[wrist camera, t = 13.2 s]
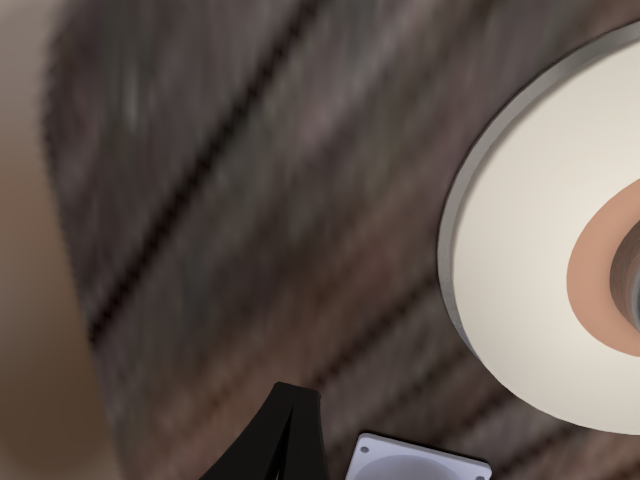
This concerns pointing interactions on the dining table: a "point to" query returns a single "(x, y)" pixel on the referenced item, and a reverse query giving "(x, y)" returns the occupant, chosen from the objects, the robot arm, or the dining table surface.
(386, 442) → the robot arm
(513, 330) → the disc
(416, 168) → the dining table surface
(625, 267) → the cover
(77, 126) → the dining table surface
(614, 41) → the turntable base
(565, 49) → the dining table surface
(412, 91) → the dining table surface
